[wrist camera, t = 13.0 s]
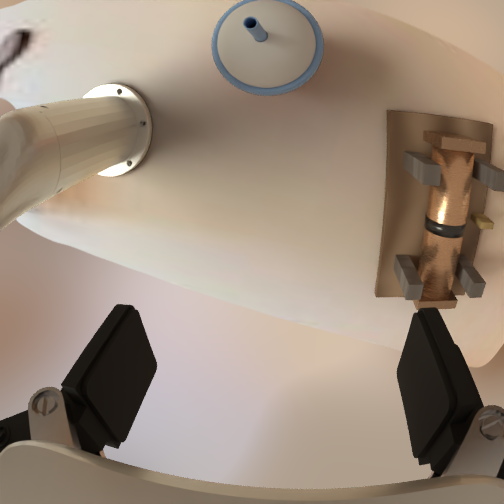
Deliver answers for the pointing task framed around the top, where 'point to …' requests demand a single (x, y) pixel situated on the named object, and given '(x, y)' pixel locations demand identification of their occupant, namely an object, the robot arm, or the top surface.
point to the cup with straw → (267, 46)
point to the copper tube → (446, 216)
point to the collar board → (416, 199)
